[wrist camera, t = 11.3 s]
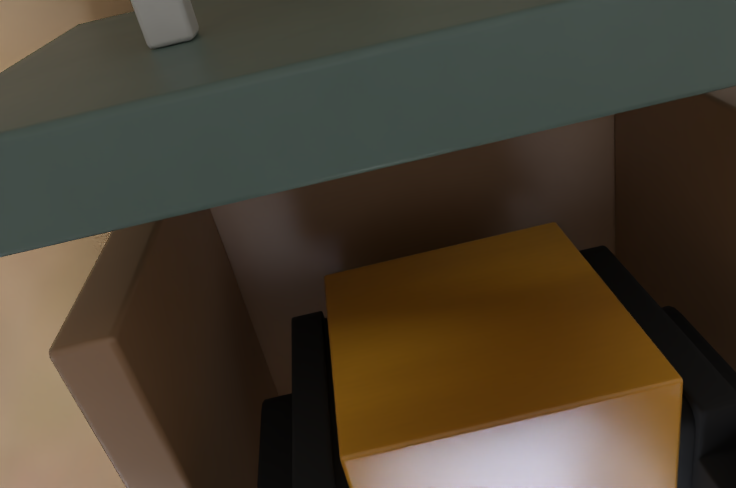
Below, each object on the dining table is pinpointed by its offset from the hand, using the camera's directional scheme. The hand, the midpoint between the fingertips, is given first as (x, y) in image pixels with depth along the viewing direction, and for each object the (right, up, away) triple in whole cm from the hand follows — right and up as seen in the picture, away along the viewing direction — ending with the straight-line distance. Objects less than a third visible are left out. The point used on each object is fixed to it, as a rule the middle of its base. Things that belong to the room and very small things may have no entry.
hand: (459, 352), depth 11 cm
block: (0, 0, 0) cm, 0 cm away
